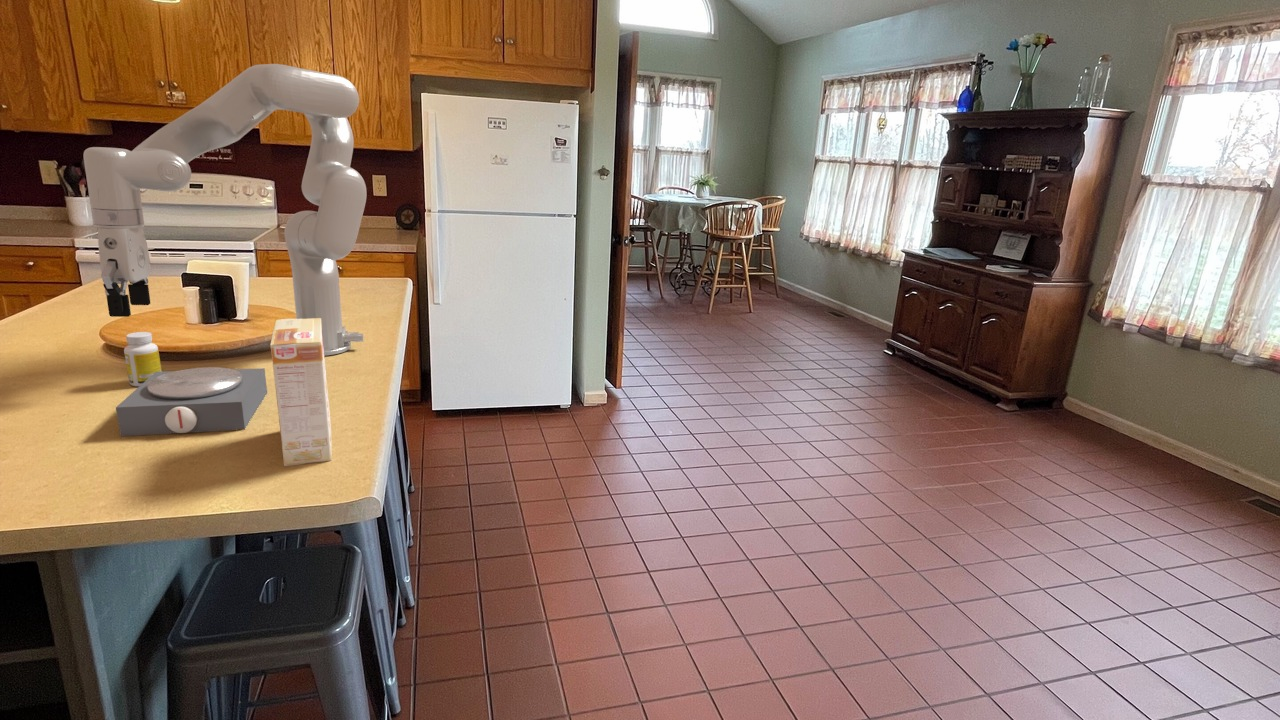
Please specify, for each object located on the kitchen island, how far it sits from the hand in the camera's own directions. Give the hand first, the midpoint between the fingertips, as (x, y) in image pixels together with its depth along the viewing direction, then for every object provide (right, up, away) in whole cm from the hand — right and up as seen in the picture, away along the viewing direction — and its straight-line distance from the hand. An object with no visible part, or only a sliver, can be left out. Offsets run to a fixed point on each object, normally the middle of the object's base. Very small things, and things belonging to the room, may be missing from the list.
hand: (130, 310), depth 132 cm
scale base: (+18, -19, -8) cm, 27 cm away
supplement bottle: (0, -14, +5) cm, 15 cm away
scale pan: (+18, -14, -9) cm, 25 cm away
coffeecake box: (+42, -23, -18) cm, 51 cm away
